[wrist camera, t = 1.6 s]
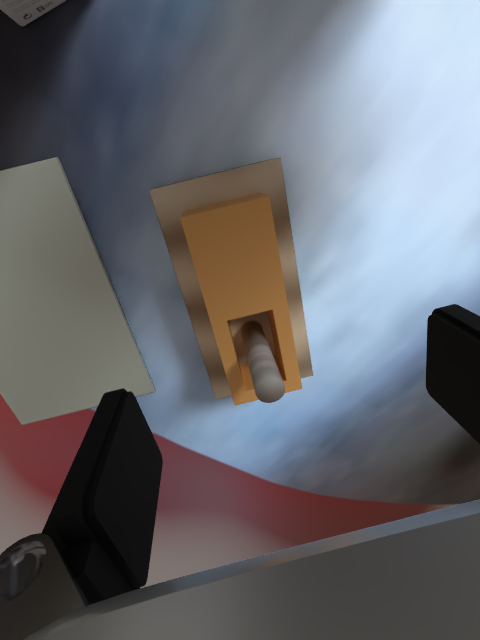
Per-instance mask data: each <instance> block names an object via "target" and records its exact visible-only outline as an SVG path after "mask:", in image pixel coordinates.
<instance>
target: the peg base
mask: <svg viewBox="0 0 480 640" xmlns="http://www.w3.org/2000/svg"><path fill="white" fill-rule="evenodd" d="M149 192H150V195H151V198H152V201H153V204H154V207H155V210H156V213H157V216H158V220H159V223H160V226H161V229H162V232H163V235H164V238H165V241H166V245H167V248H168V251H169V254H170V257H171V260H172V263H173V266H174V269H175V273H176V276H177V279H178V282H179V285H180V288H181V291H182V294H183V297H184V301H185V304H186V307H187V310H188V313H189V316H190V319H191V322H192V326H193V329H194V332H195V335H196V338H197V341H198V344H199V347H200V350H201V354H202V357H203V360H204V363H205V366H206V369H207V372H208V375H209V378H210V382H211V385H212V388H213V391H214V394H215V397H216V400H217V399H221V398H225V397H229V396H232V394H231V390H230V387H229V384H228V380H227V377H226V373H225V370H224V366H223V363H222V360H221V356H220V353H219V349H218V346H217V342H216V339H215V336H214V332H213V329H212V325H211V322H210V319H209V315H208V312H207V308H206V305H205V301H204V298H203V295H202V291H201V288H200V284H199V281H198V277H197V274H196V271H195V267H194V264H193V260H192V257H191V253H190V250H189V247H188V243H187V240H186V236H185V233H184V230H183V226H182V223H181V219H180V217H181V215H182V213H183V211H186V210H190V209H194V208H198V207H202V206H206V205H210V204H214V203H218V202H222V201H227V200H231V199H235V198H239V197H243V196H247V195H251V194H255V193H259V192H260V193H263V194H265V195H268V196H269V197H270V203H271V209H272V215H273V221H274V226H275V232H276V238H277V244H278V250H279V256H280V261H281V267H282V273H283V279H284V285H285V291H286V296H287V302H288V308H289V314H290V320H291V326H292V332H293V337H294V343H295V349H296V355H297V361H298V367H299V372H300V378H305V377H309V376H313V371H312V365H311V358H310V351H309V345H308V338H307V331H306V325H305V318H304V311H303V305H302V298H301V291H300V285H299V278H298V271H297V265H296V258H295V251H294V245H293V238H292V231H291V224H290V218H289V211H288V204H287V198H286V191H285V184H284V178H283V171H282V164H281V158H275V159H271V160H267V161H263V162H259V163H255V164H251V165H247V166H243V167H239V168H235V169H231V170H227V171H223V172H218V173H214V174H210V175H206V176H202V177H198V178H194V179H190V180H186V181H182V182H178V183H174V184H170V185H166V186H162V187H158V188H154V189H151V190H149ZM228 321H229V325H230V328H231V332H232V336H233V340H234V343H235V347H236V351H237V355H238V359H239V362H240V366H241V365H245V364H248V365H249V369H250V373H251V377H252V381H253V385H254V389H255V394H256V396H257V398H258V399H259V400H260V401H262V402H266V403H271V402H275V401H277V400H279V399H280V398H281V397H282V396H283V395H284V392H285V386H284V383H283V380H282V378H281V375H280V373H279V370H278V367H277V365H276V362H275V360H274V357H277V355H276V350H275V345H274V341H273V336H272V331H271V326H270V321H269V316H268V311H265V312H261V313H257V314H253V315H249V316H245V317H240V318H236V319H232V320H228Z"/></svg>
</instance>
